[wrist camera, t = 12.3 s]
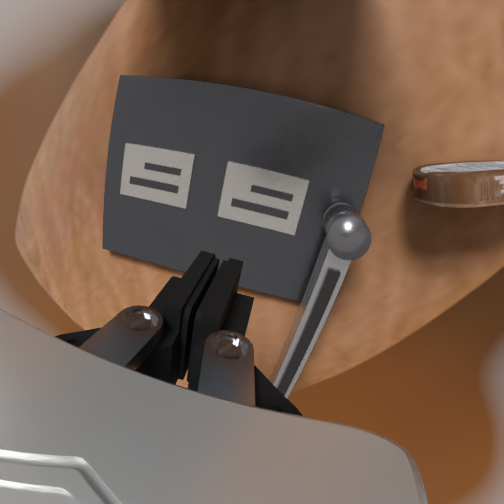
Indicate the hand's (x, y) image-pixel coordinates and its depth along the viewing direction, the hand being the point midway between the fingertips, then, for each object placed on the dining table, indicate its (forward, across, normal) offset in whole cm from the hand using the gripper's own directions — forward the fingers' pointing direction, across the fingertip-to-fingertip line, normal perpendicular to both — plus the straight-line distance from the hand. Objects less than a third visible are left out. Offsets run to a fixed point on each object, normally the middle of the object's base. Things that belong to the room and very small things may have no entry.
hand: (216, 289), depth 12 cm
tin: (+17, -19, -8) cm, 27 cm away
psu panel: (+17, +3, 0) cm, 17 cm away
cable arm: (+15, -7, +10) cm, 19 cm away
